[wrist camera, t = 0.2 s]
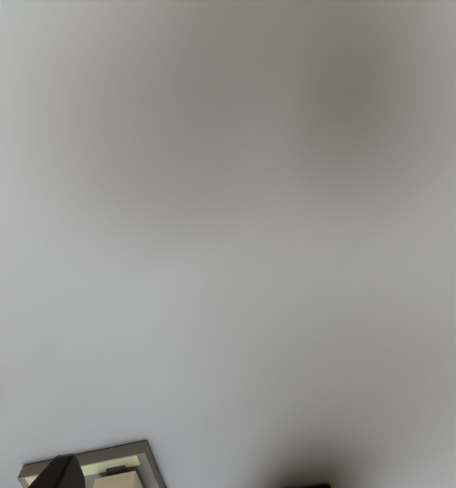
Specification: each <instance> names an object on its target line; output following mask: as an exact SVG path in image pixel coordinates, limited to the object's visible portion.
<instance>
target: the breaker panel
mask: <svg viewBox="0 0 456 488" xmlns="http://www.w3.org/2000/svg"><path fill="white" fill-rule="evenodd" d="M76 456H77V458H78V461H79V464H80V466H81V469H82V471H83V474H84V477H85V484H86V485H85V488H93V486H94V483H95V479H97V478H102V477H107V476H112V475H117V474H122V473H127V472H132V471H136V473H137V475H138V478H139V480H140V482H141V484H142V487H143V488H165V486H164V483H163V480H162V478H161V475H160V473H159V470H158V468H157V465H156V463H155V460H154V458H153V455H152V453H151V450H150V448H149V445H148V443H147V441H143V442H138V443H133V444H128V445H123V446H118V447H113V448H108V449H103V450H98V451H93V452H88V453H83V454H79V455H76ZM50 462H51V460H49V461H44V462H39V463H34V464H29V465H24V466H23V468H22V470H21V472H20V474H19V476H18V478H17V479H18V480H19V482H20V483H21V485H22V487H23V488H28V486H29V485H30V484H31V483H32V482H33V481H34V480H35V479H36V477H37V476H38V475H39V474H40V473H41V472H42V471H43V470H44V468H45V467H46V466H47V465H48V464H49V463H50Z"/></svg>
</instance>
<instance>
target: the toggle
mask: <svg viewBox="0 0 456 488" xmlns="http://www.w3.org/2000/svg"><path fill="white" fill-rule="evenodd" d="M93 488H143V487H142V484H141V482H140V480H139V478H138V475H137V473H136V471H132V472H127V473H122V474H117V475H112V476H107V477H102V478H97V479H95V483H94V486H93Z"/></svg>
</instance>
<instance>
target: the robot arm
mask: <svg viewBox="0 0 456 488" xmlns="http://www.w3.org/2000/svg"><path fill="white" fill-rule="evenodd" d="M85 485H86V484H85V477H84V474H83V471H82V469H81V466H80V464H79V461H78V458H77V456H76V455H75V454H66V455H59V456H56V457H55V458H54V459H52V460H51V462H50V463H49V464H48V465H47V466H46V467H45V468H44V470H43V471H42V472H41V473H40V474H39V475H38V476H37V477H36V479H35V480H34V481H33V482H32V483H31V484H30V485H29V486H28V488H85ZM311 488H331V486H330V485H321V486H316V487H311Z"/></svg>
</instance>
